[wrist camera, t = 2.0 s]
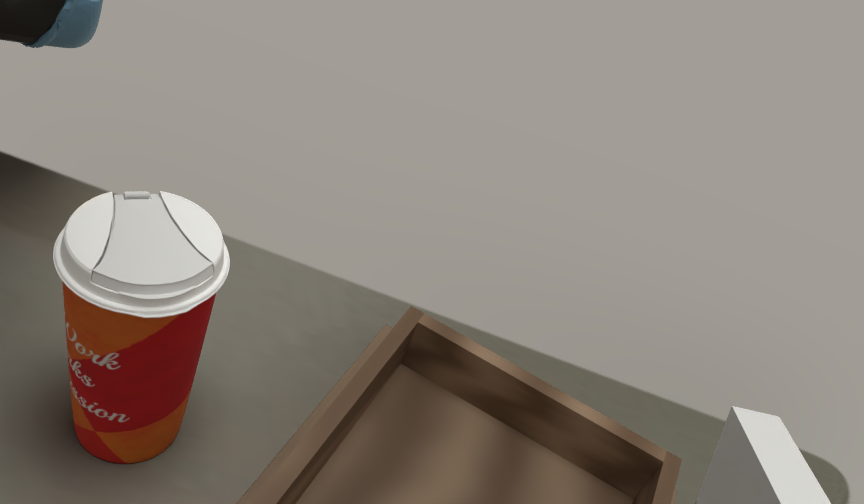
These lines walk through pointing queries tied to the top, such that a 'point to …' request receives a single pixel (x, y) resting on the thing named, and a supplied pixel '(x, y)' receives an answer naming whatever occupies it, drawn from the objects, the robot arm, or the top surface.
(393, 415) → the walnut tray
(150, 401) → the paper cup
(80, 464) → the top surface
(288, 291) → the top surface
